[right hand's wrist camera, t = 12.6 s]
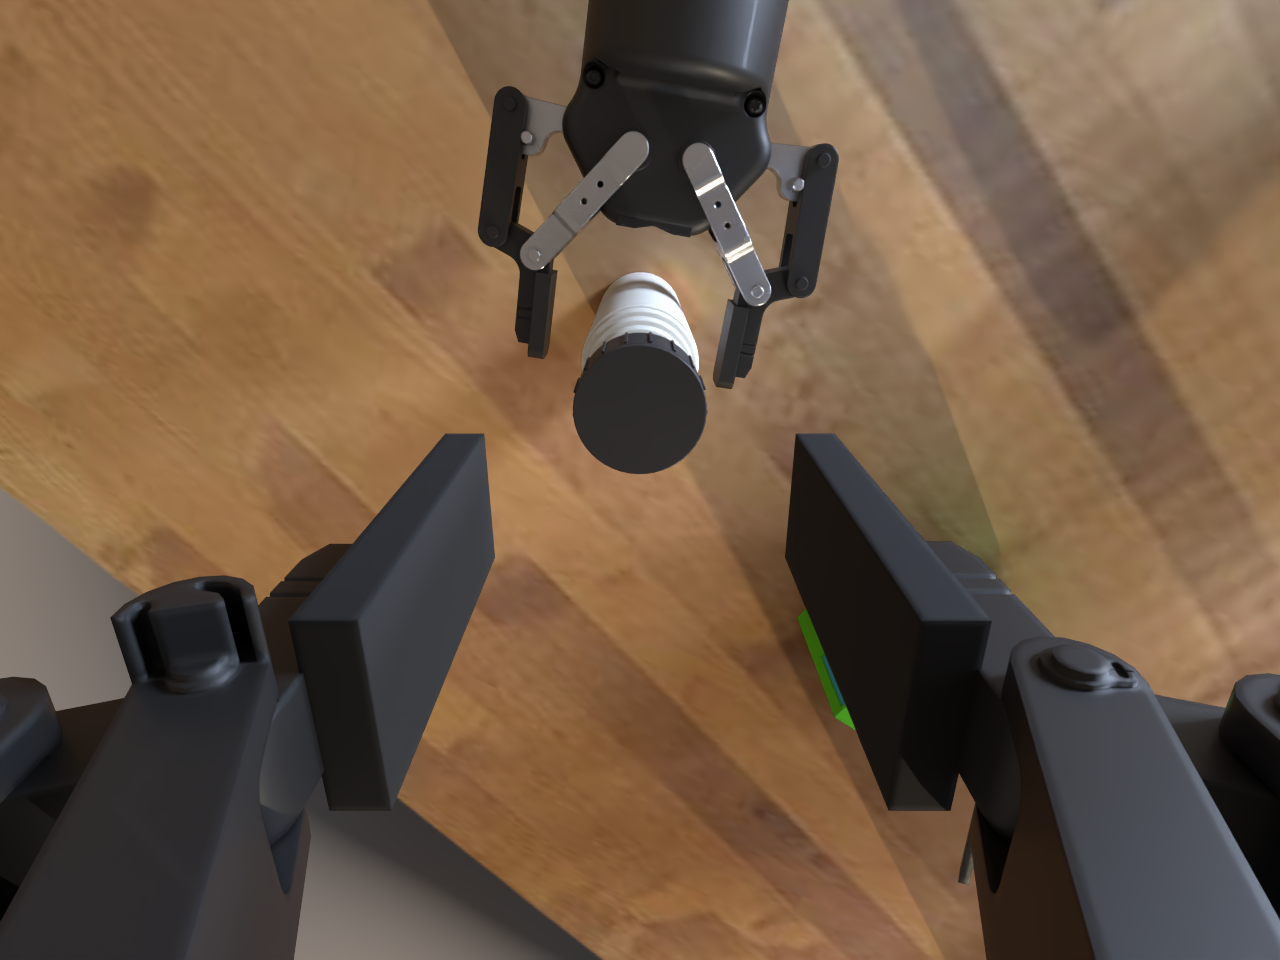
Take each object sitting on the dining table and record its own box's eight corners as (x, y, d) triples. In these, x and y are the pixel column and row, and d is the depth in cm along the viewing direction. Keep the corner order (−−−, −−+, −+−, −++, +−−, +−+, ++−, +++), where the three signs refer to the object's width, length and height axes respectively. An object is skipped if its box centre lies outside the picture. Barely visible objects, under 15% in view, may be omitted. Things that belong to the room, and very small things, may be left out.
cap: (614, 472, 23) (612, 497, 21) (553, 367, 21) (545, 383, 19) (723, 419, 22) (730, 439, 20) (666, 307, 21) (669, 318, 19)
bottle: (623, 368, 38) (610, 500, 21) (584, 296, 37) (537, 377, 20) (694, 331, 37) (738, 438, 20) (657, 256, 36) (672, 305, 19)
